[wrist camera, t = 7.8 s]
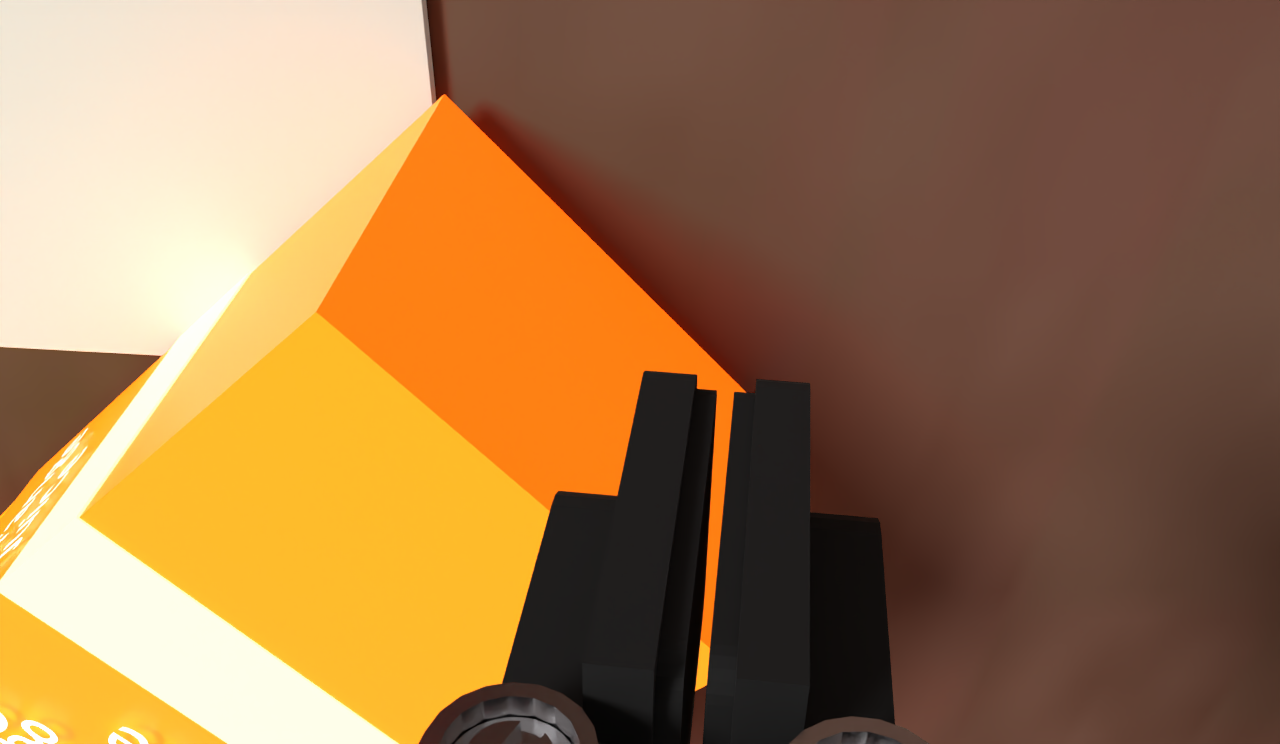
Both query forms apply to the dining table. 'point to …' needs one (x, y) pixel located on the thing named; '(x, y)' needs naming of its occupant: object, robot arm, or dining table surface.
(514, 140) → the dining table surface
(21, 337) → the mat
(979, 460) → the dining table surface
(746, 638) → the robot arm
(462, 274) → the orange juice
